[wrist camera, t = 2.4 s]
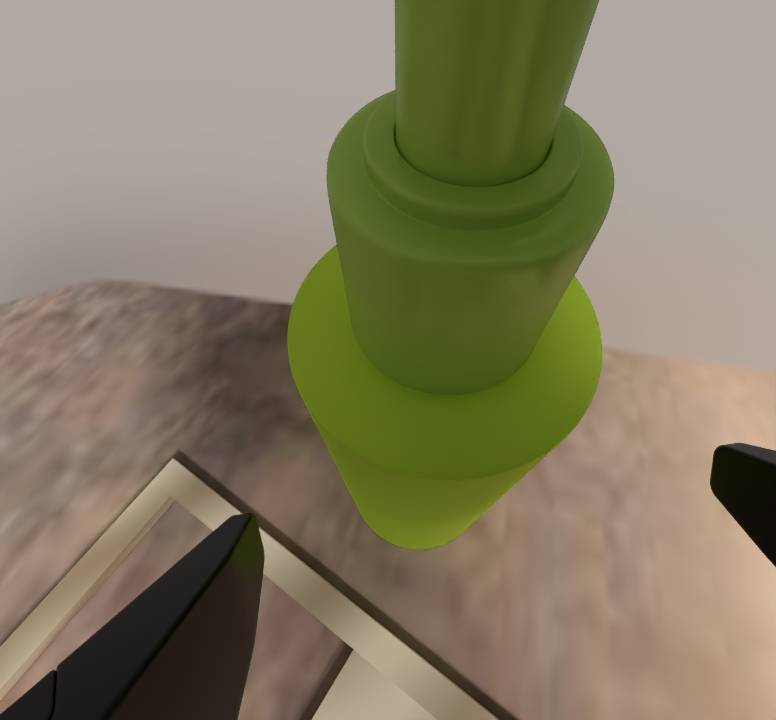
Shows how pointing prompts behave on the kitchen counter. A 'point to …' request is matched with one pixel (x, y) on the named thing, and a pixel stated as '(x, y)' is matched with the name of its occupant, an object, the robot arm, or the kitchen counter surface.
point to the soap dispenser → (456, 268)
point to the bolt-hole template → (331, 607)
